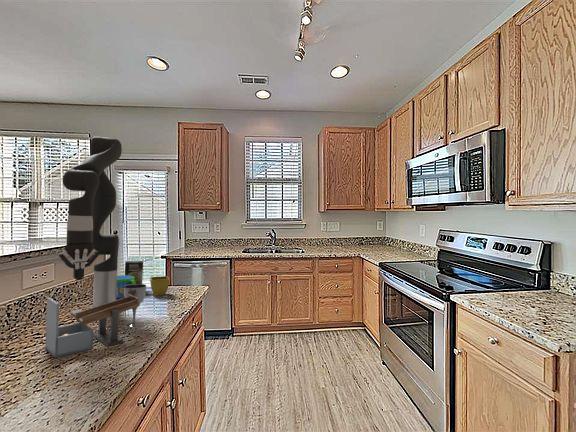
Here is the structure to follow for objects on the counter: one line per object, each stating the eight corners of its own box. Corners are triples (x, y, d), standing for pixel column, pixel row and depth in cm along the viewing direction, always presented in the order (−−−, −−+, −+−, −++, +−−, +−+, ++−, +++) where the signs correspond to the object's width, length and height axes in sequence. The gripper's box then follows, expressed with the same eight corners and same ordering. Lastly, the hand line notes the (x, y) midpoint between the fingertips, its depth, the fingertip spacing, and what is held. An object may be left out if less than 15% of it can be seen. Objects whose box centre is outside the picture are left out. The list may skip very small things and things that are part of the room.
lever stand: (92, 336, 117) (93, 304, 117) (107, 332, 121) (108, 302, 121) (107, 346, 109) (108, 312, 109) (123, 342, 112) (124, 309, 112)
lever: (68, 315, 115) (67, 306, 115) (122, 298, 129) (121, 290, 128) (83, 325, 106) (82, 316, 106) (139, 306, 119) (138, 298, 119)
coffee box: (123, 292, 179) (124, 262, 179) (124, 290, 185) (125, 260, 185) (142, 291, 183) (143, 262, 183) (142, 289, 189) (143, 260, 189)
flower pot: (150, 297, 172) (151, 279, 171) (149, 293, 179) (149, 276, 179) (169, 296, 176) (169, 278, 176) (166, 292, 183) (167, 275, 183)
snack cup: (142, 297, 172) (142, 277, 172) (124, 301, 162) (125, 280, 162) (120, 293, 178) (120, 274, 178) (102, 297, 168) (102, 277, 168)
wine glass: (136, 328, 126) (137, 288, 126) (117, 326, 127) (119, 287, 127) (149, 322, 134) (150, 284, 134) (131, 320, 135) (132, 283, 135)
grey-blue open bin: (45, 348, 106) (47, 297, 106) (81, 340, 113) (83, 292, 113) (55, 358, 99) (56, 304, 99) (92, 348, 107) (94, 298, 107)
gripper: (96, 228, 122) (95, 275, 122) (53, 228, 112) (52, 280, 112) (105, 229, 117) (103, 278, 117) (60, 230, 107) (59, 284, 107)
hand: (78, 279), depth 115 cm, fingers closed
